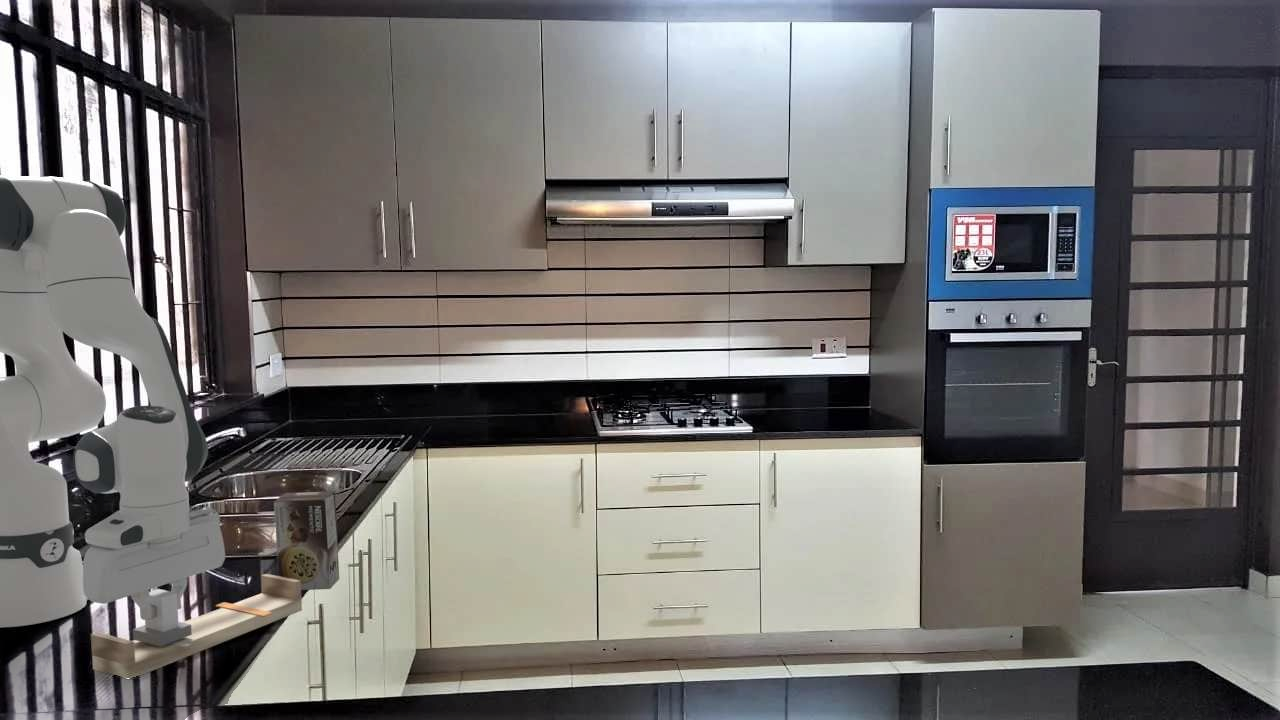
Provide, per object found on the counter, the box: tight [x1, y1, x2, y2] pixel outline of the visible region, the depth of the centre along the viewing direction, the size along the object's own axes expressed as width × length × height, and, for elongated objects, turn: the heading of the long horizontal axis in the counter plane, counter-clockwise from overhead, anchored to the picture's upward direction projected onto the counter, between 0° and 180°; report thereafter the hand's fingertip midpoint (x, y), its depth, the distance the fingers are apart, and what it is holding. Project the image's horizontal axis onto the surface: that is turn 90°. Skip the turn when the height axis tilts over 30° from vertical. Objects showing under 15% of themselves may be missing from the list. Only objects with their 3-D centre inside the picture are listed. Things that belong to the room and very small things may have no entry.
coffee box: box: [273, 490, 340, 591], centre depth 168 cm, size 9×6×16 cm
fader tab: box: [132, 588, 192, 647], centre depth 138 cm, size 6×5×6 cm
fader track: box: [90, 573, 303, 679], centre depth 145 cm, size 11×30×5 cm, turn 152°
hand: (161, 614), depth 138 cm, fingers closed on fader tab, 2 cm apart
